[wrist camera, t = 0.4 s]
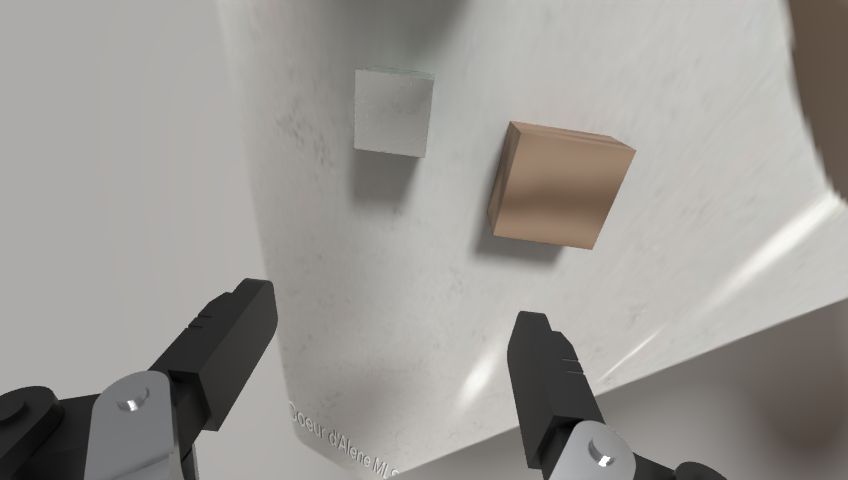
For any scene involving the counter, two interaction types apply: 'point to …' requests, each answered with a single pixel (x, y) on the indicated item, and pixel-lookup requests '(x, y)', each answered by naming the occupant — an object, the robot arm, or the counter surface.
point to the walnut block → (556, 184)
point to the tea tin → (392, 110)
